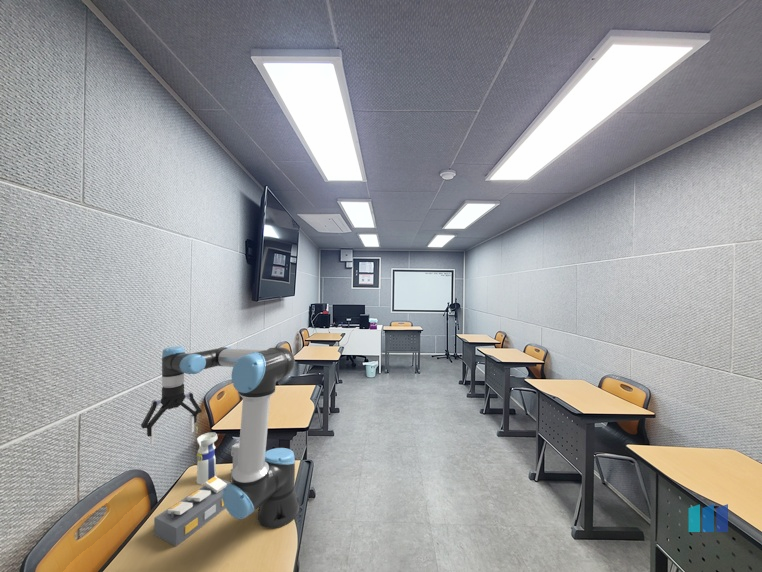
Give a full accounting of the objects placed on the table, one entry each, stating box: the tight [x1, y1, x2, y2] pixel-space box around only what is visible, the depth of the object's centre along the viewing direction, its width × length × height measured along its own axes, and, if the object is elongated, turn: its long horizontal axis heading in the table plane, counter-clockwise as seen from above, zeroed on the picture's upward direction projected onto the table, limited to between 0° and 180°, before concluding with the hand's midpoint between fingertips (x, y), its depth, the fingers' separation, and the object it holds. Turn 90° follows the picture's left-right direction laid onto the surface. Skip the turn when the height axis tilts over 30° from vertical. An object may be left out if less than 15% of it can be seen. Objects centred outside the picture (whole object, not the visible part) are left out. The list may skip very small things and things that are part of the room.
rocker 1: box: [167, 501, 193, 515], centre depth 104 cm, size 7×4×1 cm, turn 67°
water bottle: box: [195, 426, 218, 485], centre depth 132 cm, size 8×9×25 cm
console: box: [153, 477, 231, 547], centre depth 110 cm, size 12×24×8 cm, turn 157°
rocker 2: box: [186, 489, 211, 502], centre depth 110 cm, size 7×4×1 cm, turn 67°
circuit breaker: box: [230, 440, 240, 481], centre depth 134 cm, size 8×14×15 cm, turn 78°
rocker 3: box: [204, 475, 227, 493], centre depth 117 cm, size 7×4×1 cm, turn 67°
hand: (172, 437), depth 119 cm, fingers open, 13 cm apart
